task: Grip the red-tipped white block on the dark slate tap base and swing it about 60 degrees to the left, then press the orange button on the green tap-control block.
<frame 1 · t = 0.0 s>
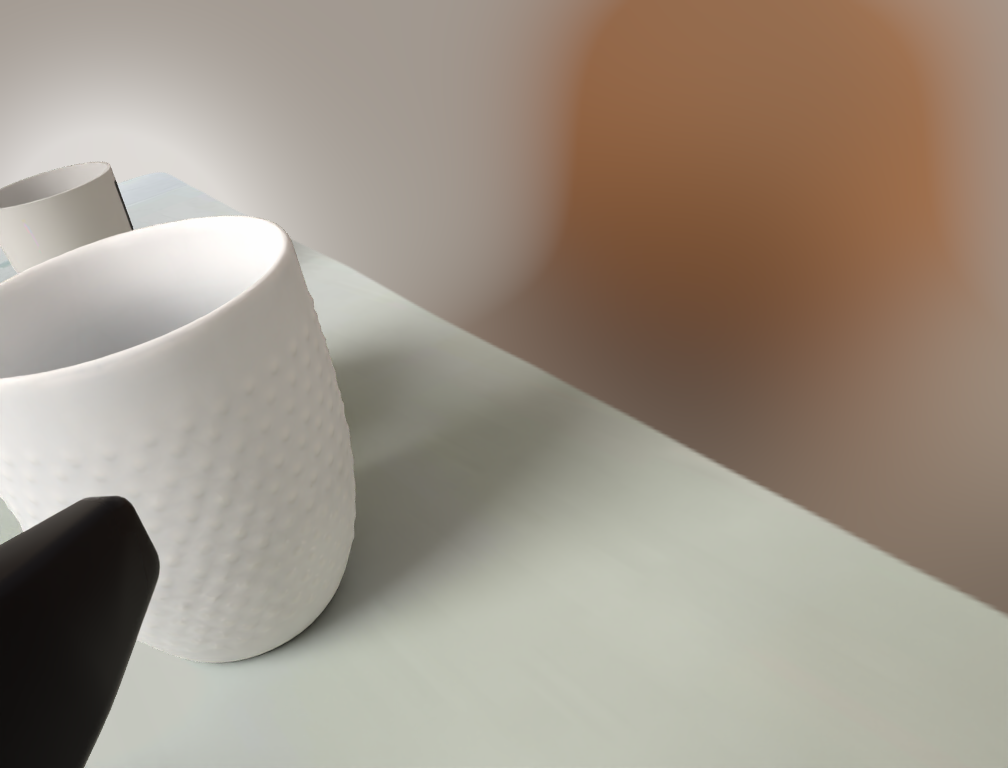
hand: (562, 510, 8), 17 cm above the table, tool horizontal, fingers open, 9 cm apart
cup: (112, 327, 61), on the table
mug: (250, 583, 34), on the table, touching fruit
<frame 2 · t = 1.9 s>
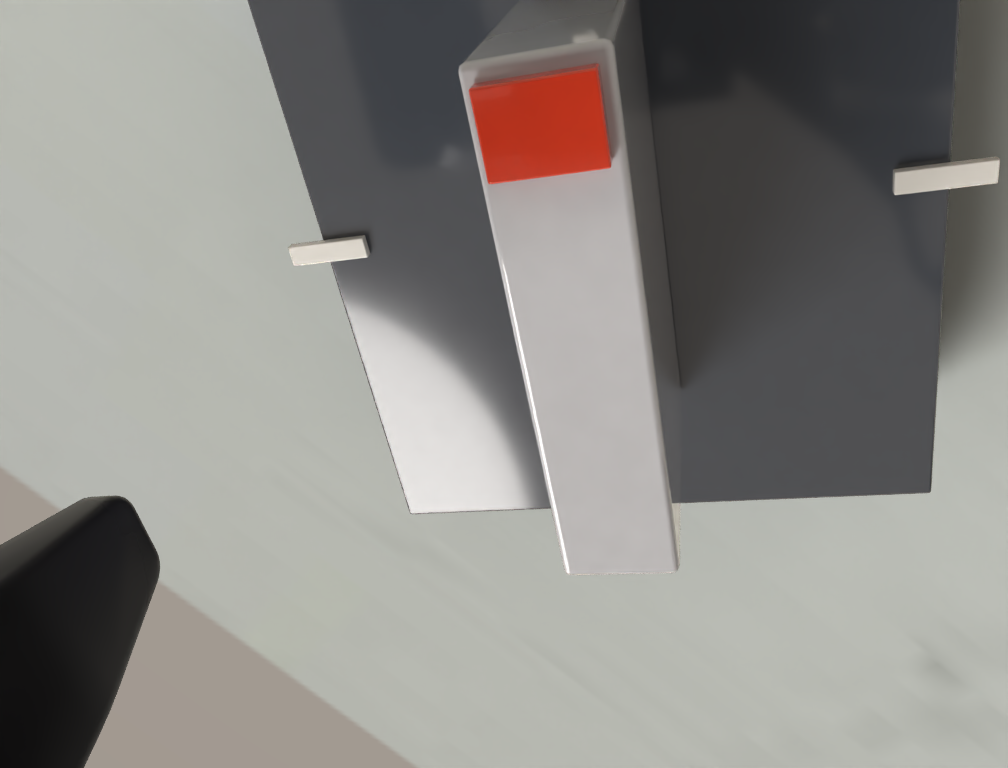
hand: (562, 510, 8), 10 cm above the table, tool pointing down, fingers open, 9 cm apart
tap base: (622, 155, 17), on the table
red-tipped white block: (598, 280, 12), point 5 cm above the table, hinge at 0.0°
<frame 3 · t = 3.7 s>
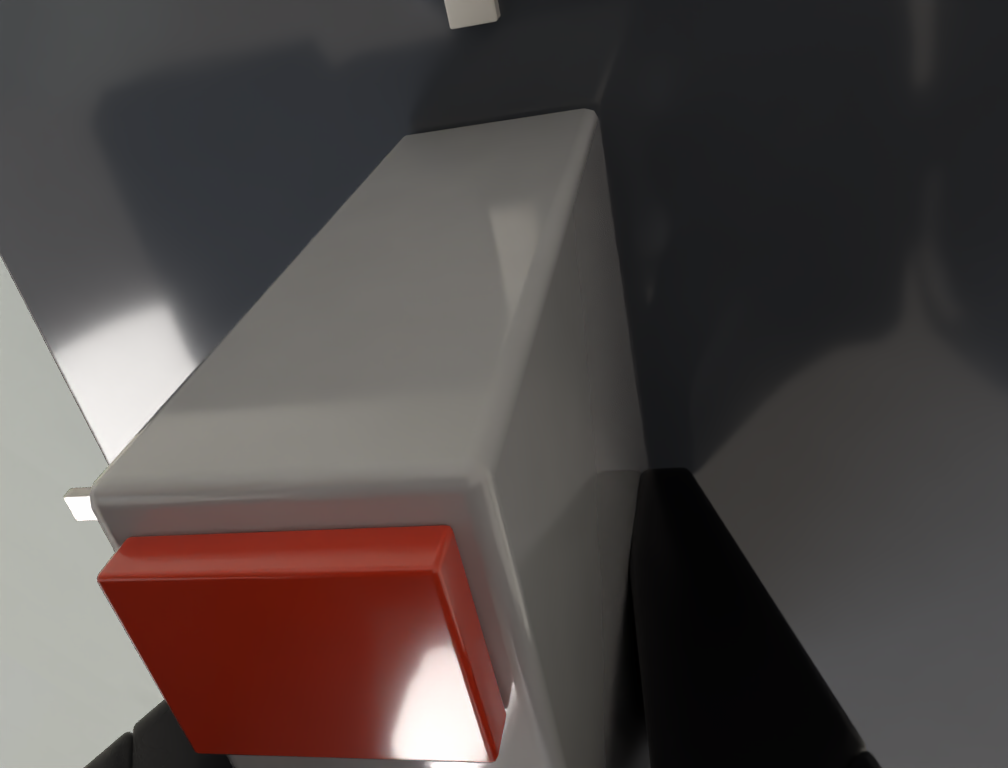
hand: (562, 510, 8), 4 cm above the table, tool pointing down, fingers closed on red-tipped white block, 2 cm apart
tap base: (594, 328, 11), on the table
red-tipped white block: (530, 676, 7), point 5 cm above the table, hinge at 0.0°, touching gripper
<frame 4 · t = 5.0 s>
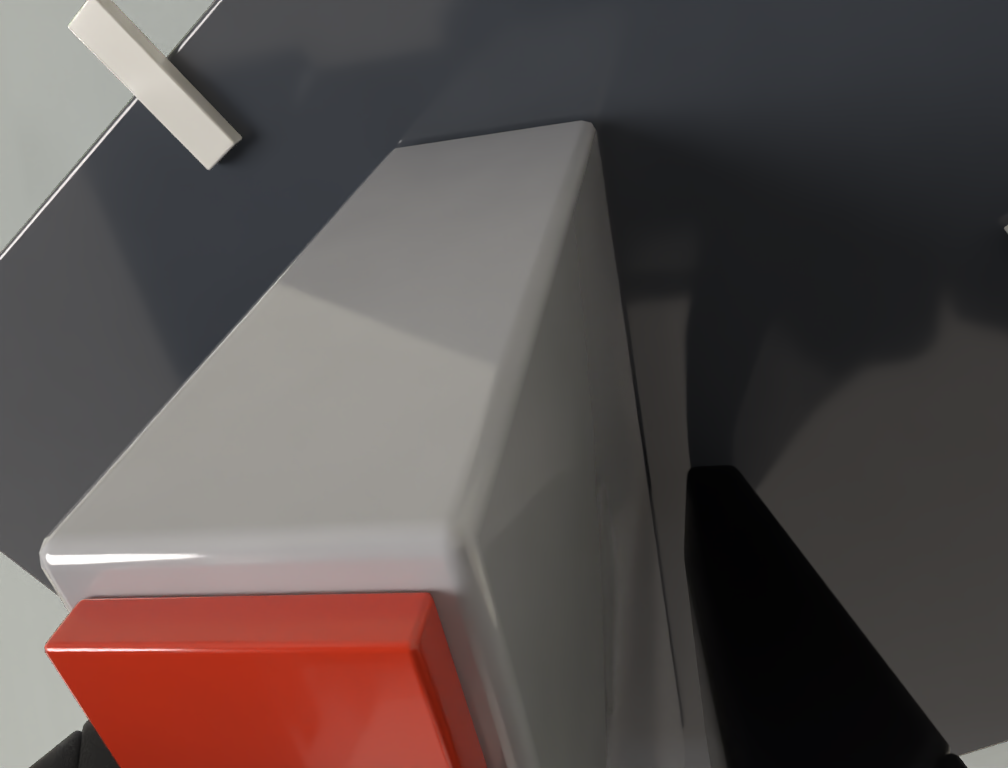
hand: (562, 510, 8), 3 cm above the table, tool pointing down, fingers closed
tap base: (593, 341, 11), on the table
red-tipped white block: (526, 713, 6), point 5 cm above the table, hinge at 59.8°
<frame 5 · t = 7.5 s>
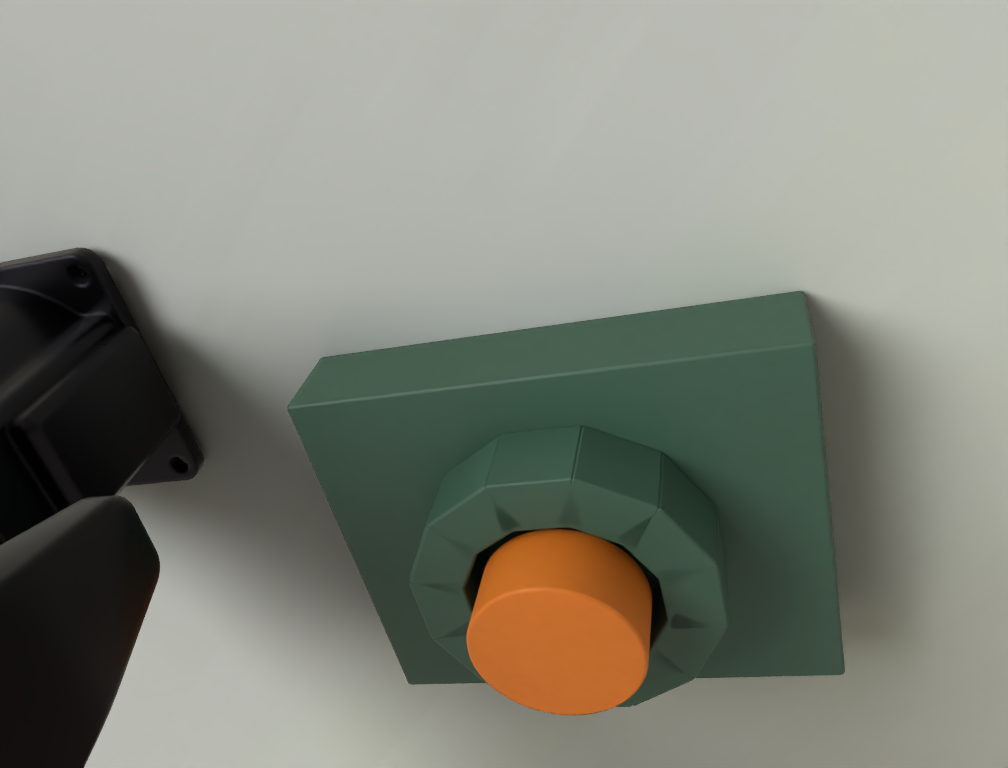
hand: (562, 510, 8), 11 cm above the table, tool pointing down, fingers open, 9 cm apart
tap control: (584, 484, 22), on the table
button: (561, 622, 18), point 4 cm above the table, slide at 0.1 cm
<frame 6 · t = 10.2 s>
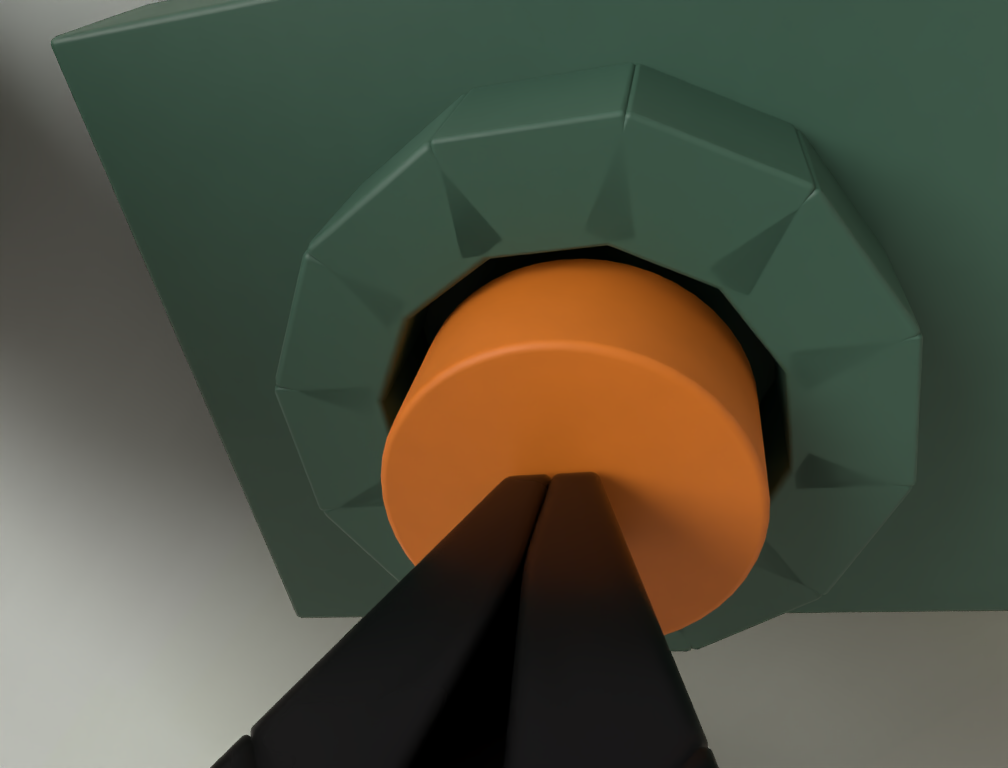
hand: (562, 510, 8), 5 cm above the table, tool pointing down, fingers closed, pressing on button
tap control: (609, 272, 13), on the table
button: (577, 456, 9), point 4 cm above the table, slide at 0.0 cm, touching gripper
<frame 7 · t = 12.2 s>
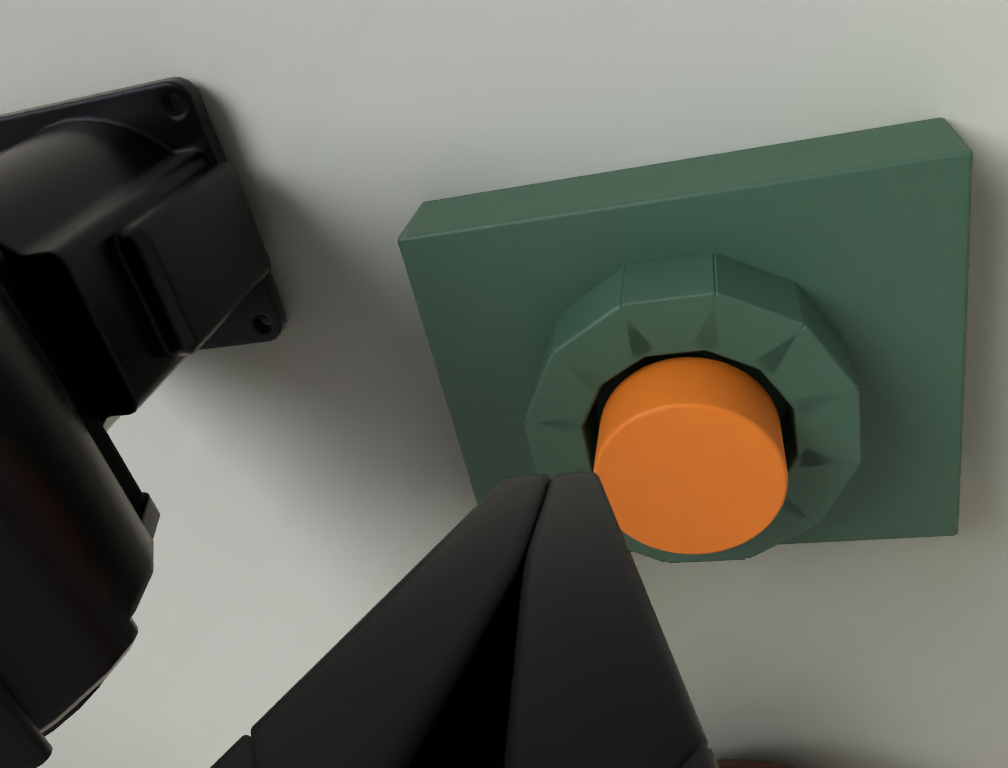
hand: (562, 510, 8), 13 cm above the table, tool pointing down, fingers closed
tap control: (688, 344, 21), on the table
button: (688, 456, 17), point 4 cm above the table, slide at 0.1 cm
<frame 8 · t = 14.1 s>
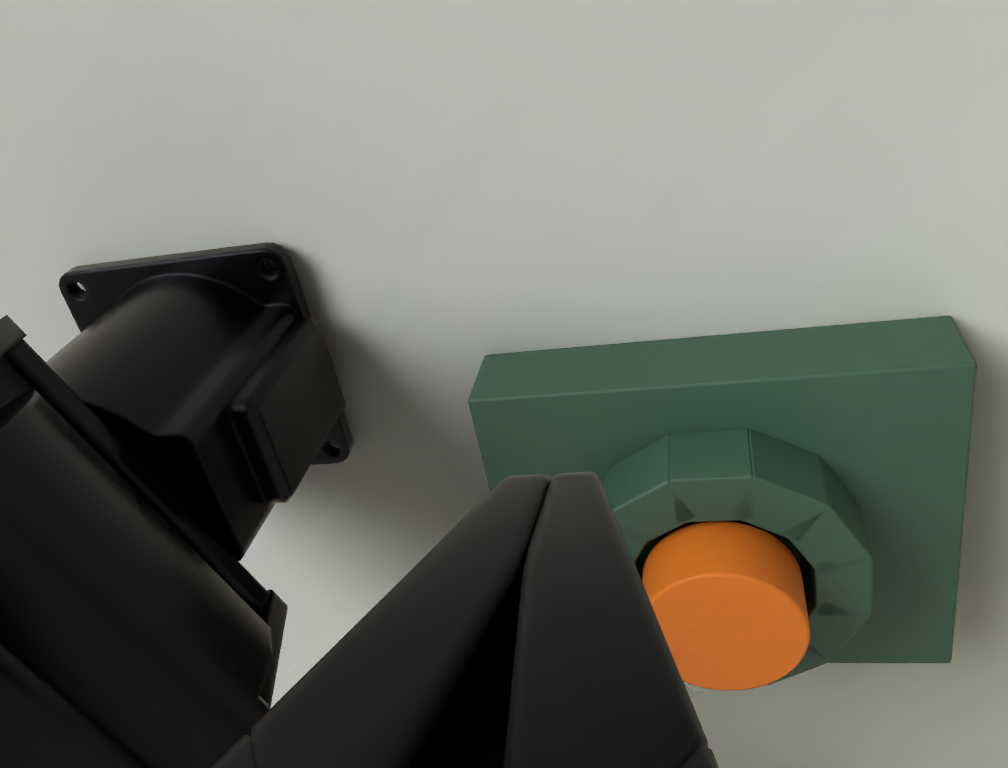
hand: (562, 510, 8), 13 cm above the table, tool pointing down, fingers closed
tap control: (716, 482, 24), on the table
button: (721, 606, 20), point 4 cm above the table, slide at 0.1 cm
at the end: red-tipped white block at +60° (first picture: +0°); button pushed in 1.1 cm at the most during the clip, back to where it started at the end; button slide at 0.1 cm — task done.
